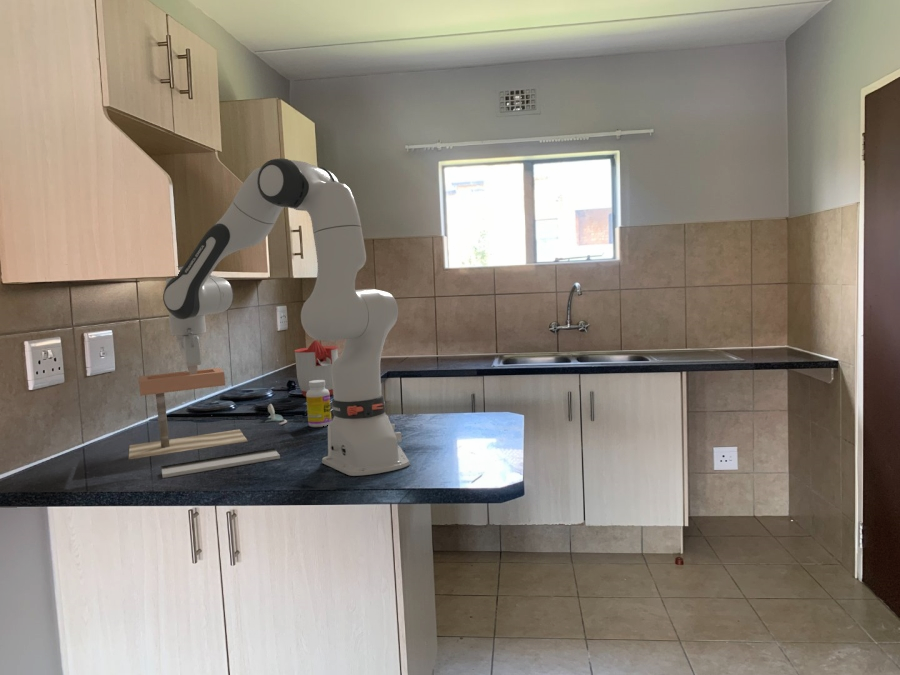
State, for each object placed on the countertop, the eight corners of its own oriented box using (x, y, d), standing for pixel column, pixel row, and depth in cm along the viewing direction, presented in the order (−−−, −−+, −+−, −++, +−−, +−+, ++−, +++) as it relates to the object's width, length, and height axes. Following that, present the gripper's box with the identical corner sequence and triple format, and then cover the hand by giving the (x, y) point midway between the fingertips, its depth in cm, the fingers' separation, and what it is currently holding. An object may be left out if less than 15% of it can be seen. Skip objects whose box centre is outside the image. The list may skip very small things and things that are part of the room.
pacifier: (289, 421, 206) (268, 422, 206) (287, 400, 205) (267, 401, 205) (285, 426, 199) (264, 427, 198) (283, 405, 198) (262, 406, 198)
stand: (248, 446, 176) (242, 387, 175) (129, 465, 165) (122, 402, 163) (240, 434, 191) (235, 379, 189) (130, 450, 179) (123, 392, 178)
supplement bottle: (326, 427, 193) (323, 382, 192) (304, 427, 194) (301, 383, 193) (335, 422, 199) (331, 378, 198) (314, 422, 201) (310, 379, 199)
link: (225, 385, 176) (224, 371, 175) (140, 395, 167) (139, 381, 167) (221, 380, 185) (219, 367, 184) (140, 389, 176) (138, 376, 176)
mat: (280, 458, 163) (279, 455, 163) (162, 477, 152) (162, 474, 152) (270, 446, 175) (269, 443, 175) (160, 463, 165) (160, 460, 165)
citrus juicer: (307, 401, 235) (302, 344, 233) (292, 395, 250) (287, 341, 248) (349, 395, 243) (345, 339, 241) (332, 389, 258) (328, 336, 256)
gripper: (204, 328, 171) (209, 382, 173) (198, 324, 190) (203, 373, 191) (177, 330, 169) (183, 385, 170) (173, 326, 187) (178, 376, 189)
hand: (193, 379), depth 181 cm, fingers closed on link, 2 cm apart
